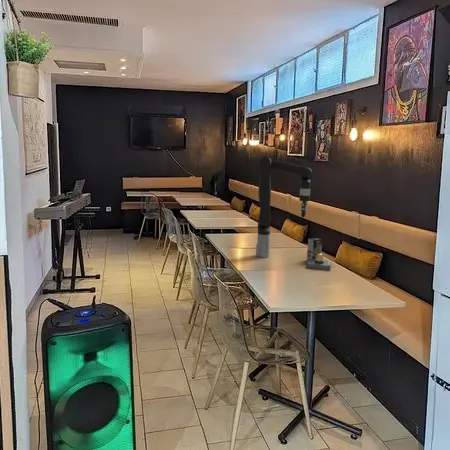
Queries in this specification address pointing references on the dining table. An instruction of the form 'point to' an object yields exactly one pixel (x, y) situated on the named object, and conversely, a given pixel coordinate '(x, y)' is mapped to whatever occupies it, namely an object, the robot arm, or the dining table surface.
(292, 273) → the dining table surface
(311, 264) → the plate
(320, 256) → the translucent olive cylinder
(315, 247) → the coffee box
